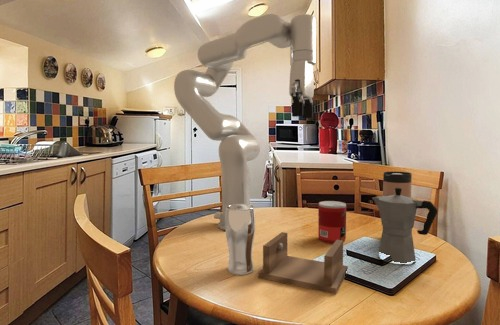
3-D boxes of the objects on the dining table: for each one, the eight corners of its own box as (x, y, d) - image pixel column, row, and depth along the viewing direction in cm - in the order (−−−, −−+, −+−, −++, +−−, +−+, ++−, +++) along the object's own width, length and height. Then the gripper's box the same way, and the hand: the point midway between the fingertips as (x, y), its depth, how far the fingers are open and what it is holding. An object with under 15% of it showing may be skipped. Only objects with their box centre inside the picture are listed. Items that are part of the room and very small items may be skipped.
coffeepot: (362, 256, 82) (363, 187, 81) (379, 247, 88) (380, 183, 87) (427, 274, 71) (430, 194, 69) (441, 262, 77) (444, 189, 76)
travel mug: (409, 237, 97) (411, 171, 95) (410, 245, 90) (412, 174, 88) (382, 234, 100) (383, 171, 98) (381, 241, 93) (382, 173, 91)
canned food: (347, 244, 91) (347, 206, 90) (318, 243, 93) (318, 205, 92) (344, 236, 98) (345, 201, 98) (318, 235, 100) (318, 200, 99)
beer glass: (245, 278, 70) (244, 211, 69) (219, 271, 73) (218, 207, 72) (261, 267, 76) (260, 205, 74) (236, 261, 79) (236, 202, 78)
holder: (258, 277, 70) (257, 245, 70) (278, 258, 81) (278, 231, 80) (336, 294, 62) (336, 258, 62) (347, 271, 73) (348, 240, 72)
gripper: (300, 66, 105) (300, 118, 106) (280, 54, 89) (280, 116, 91) (322, 63, 101) (322, 118, 103) (306, 51, 86) (306, 115, 87)
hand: (302, 117), depth 97 cm, fingers open, 9 cm apart
